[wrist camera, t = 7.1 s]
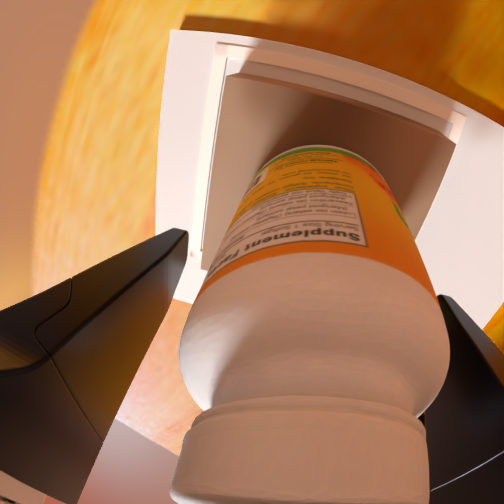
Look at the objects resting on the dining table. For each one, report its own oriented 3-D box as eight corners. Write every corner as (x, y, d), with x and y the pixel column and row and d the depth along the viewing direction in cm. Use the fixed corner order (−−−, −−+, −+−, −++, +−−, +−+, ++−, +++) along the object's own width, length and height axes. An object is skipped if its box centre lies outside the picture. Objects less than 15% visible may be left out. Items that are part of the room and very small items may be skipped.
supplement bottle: (395, 264, 12) (434, 524, 4) (265, 280, 13) (206, 523, 6) (383, 129, 9) (554, 439, 1) (226, 158, 11) (44, 432, 3)
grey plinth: (437, 130, 10) (456, 144, 9) (371, 282, 15) (376, 311, 14) (238, 72, 11) (225, 76, 9) (212, 243, 15) (200, 269, 14)
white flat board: (565, 170, 10) (574, 177, 9) (454, 349, 18) (457, 359, 17) (178, 30, 11) (169, 29, 10) (161, 284, 19) (155, 294, 18)
